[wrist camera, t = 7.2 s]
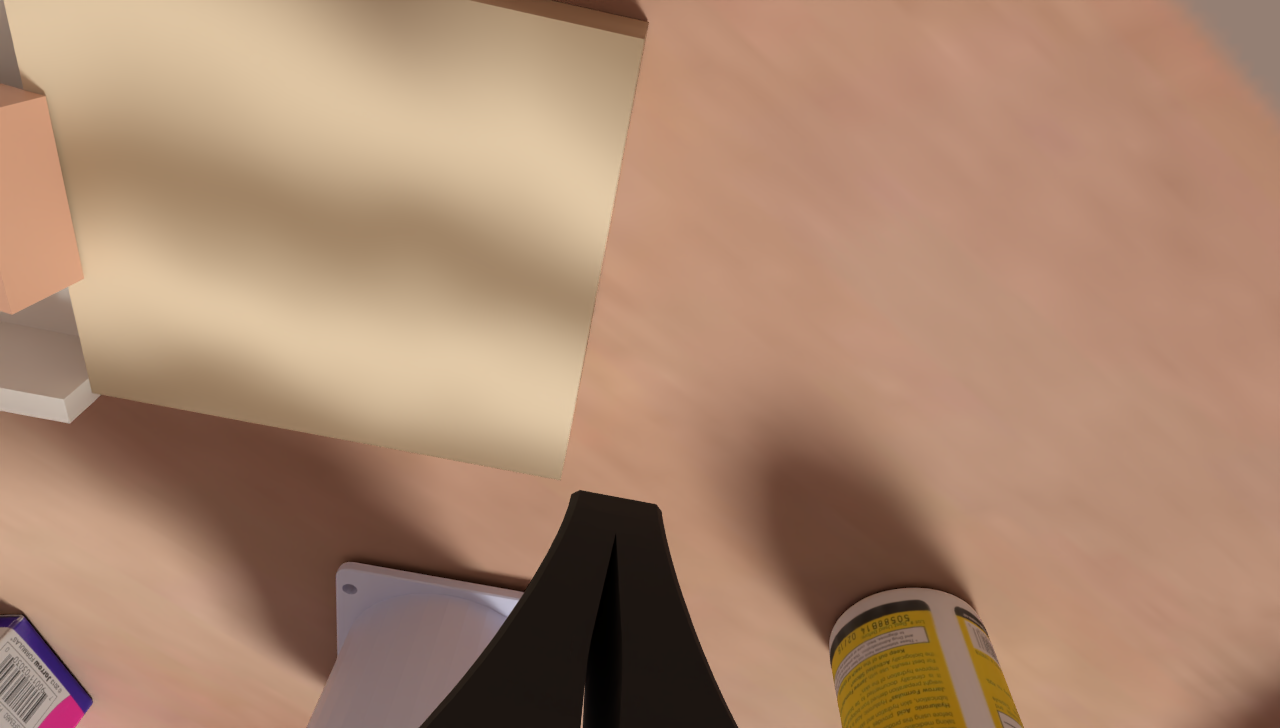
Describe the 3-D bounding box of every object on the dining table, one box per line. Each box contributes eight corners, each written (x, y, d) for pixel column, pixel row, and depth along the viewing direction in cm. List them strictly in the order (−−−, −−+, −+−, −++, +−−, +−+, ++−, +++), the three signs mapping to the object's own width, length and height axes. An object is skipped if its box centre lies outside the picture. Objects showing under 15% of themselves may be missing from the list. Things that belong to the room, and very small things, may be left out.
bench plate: (569, 436, 24) (560, 480, 22) (135, 354, 23) (92, 392, 21) (648, 22, 17) (644, 39, 16) (49, -113, 17) (-21, -110, 15)
